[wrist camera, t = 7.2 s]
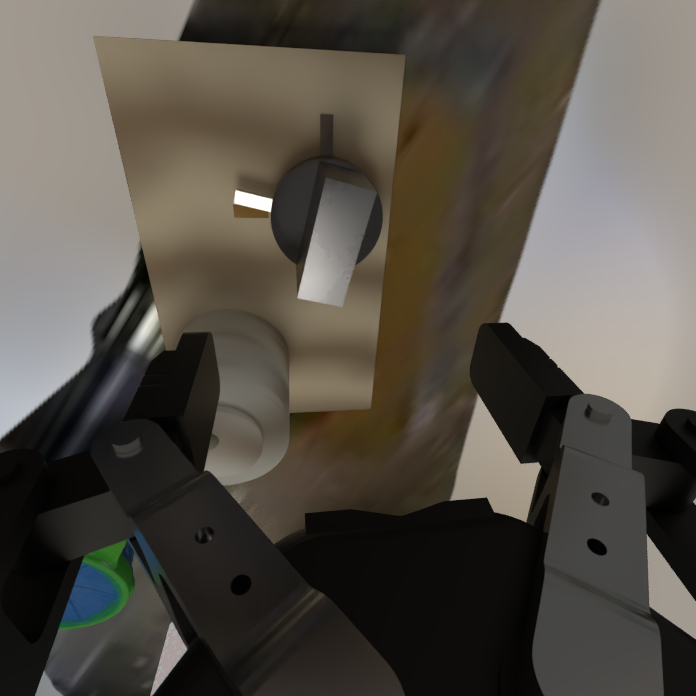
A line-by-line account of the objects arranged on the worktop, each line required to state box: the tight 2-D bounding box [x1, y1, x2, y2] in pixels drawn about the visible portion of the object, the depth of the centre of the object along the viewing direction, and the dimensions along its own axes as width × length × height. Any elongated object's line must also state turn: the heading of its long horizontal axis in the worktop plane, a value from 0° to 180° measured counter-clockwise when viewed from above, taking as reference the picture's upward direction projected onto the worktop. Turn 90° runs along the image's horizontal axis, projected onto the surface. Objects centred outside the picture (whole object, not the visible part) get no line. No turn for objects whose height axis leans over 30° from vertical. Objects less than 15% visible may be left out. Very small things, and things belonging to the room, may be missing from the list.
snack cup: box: [58, 540, 135, 630], centre depth 34 cm, size 16×10×10 cm
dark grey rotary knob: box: [234, 156, 383, 307], centre depth 22 cm, size 8×6×6 cm
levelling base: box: [93, 36, 406, 485], centre depth 24 cm, size 24×15×11 cm, turn 177°
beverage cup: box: [150, 622, 187, 696], centre depth 48 cm, size 6×6×14 cm
